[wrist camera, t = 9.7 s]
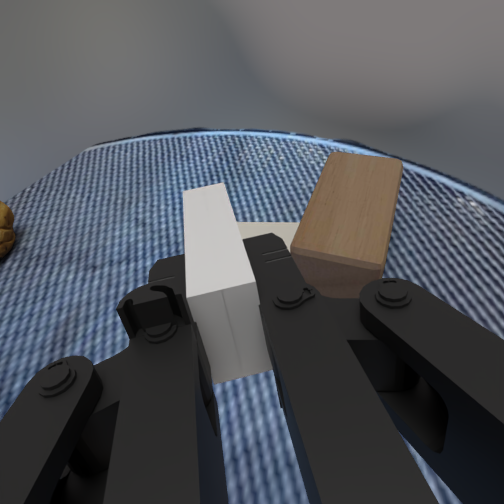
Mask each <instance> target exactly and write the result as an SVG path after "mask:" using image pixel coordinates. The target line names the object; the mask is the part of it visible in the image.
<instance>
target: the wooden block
mask: <svg viewBox="0 0 504 504" xmlns="http://www.w3.org/2000/svg"><path fill="white" fill-rule="evenodd" d="M402 172H403V164H402V161H401V160H398V159H394V158H385V157H377V156H368V155H360V154H351V153H342V152H333V153H331V154H330V155H329V157H328V159H327V161H326V163H325V166H324V168H323V170H322V173H321V175H320V177H319V180H318V182H317V184H316V187H315V189H314V191H313V194H312V196H311V198H310V201H309V203H308V205H307V208H306V210H305V212H304V214H303V217H302V219H301V221H300V224H299V226H298V228H297V231H296V233H295V235H294V238H293V240H292V242H291V245H290V254H291V256H292V257H293V259H294V261H295V263H296V265H297V267H298V269H299V270H300V272H301V274H302V276H303V278H304V280H305V282H306V283H307V284H309V285H312V286H314V287H315V288H316V289H317V290H318V291H319V292H320V294H321V295H322V296H326V297H330V298H359V293H360V291H361V290H362V288H363V286H365V285H366V284H368V283H370V282H371V281H374V280H378V279H382V275H383V271H384V267H385V263H386V257H387V252H388V247H389V241H390V236H391V231H392V225H393V220H394V214H395V209H396V204H397V198H398V193H399V188H400V182H401V177H402Z"/></svg>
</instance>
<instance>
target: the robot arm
mask: <svg viewBox="0 0 504 504" xmlns="http://www.w3.org/2000/svg"><path fill="white" fill-rule="evenodd" d="M183 205H184V238H185V254H182V255H178V256H173V257H169V258H165V259H160V260H157V262H156V263H155V264H154V266H153V267H152V268H151V269H150V271H149V279H148V284H146V285H144V286H141V287H138V288H137V289H135V290H133V291H131V292H130V293H128V294H127V295H126V296H125V297H124V298H123V299H122V300H121V301H120V302H119V304H118V306H117V308H116V310H117V312H118V314H119V316H120V319H121V321H122V323H123V325H124V327H125V330H126V332H127V334H128V336H129V339H130V341H129V346H128V347H127V348H126V349H124V350H123V351H122V352H120V353H118V354H116V355H115V356H113V357H111V358H109V359H106V360H104V361H102V362H100V363H98V364H96V365H94V366H93V364H92V362H91V361H90V360H89V359H87V358H86V357H84V356H70V357H65V358H61V359H59V360H57V361H55V362H53V363H51V364H49V365H47V366H46V367H44V368H43V369H42V370H40V371H39V372H38V373H36V374H35V376H34V377H33V378H32V379H31V380H30V381H29V382H28V383H27V385H26V386H25V387H24V389H23V390H22V392H21V393H20V395H19V396H18V397H17V399H16V400H15V402H14V403H13V405H12V406H11V407H10V409H9V410H8V412H7V413H6V414H5V416H4V417H3V419H2V420H1V422H0V504H228V495H227V486H226V477H225V468H224V459H223V450H222V441H221V432H220V423H219V414H218V405H217V401H216V398H215V395H214V392H213V388H212V379H213V382H214V385H215V384H218V383H222V382H226V381H230V380H234V379H238V378H242V377H246V376H250V375H254V374H258V373H261V372H265V371H269V370H273V371H274V376H275V381H276V386H277V391H278V396H279V401H280V407H281V408H283V411H284V415H285V418H286V422H287V425H288V429H289V432H290V436H291V440H292V443H293V447H294V450H295V454H296V457H297V461H298V464H299V468H300V471H301V475H302V478H303V482H304V485H305V489H306V492H307V496H308V500H309V503H310V504H439V503H438V501H437V499H436V497H435V496H434V494H433V492H432V490H431V489H430V487H429V485H428V483H427V481H426V480H425V478H424V476H423V474H422V473H421V471H420V469H419V467H418V466H417V464H416V462H415V460H414V458H413V457H412V455H411V453H410V451H409V450H408V448H407V446H406V444H405V443H404V441H403V439H402V437H401V435H400V434H399V432H400V433H401V434H402V435H403V437H404V438H405V439H406V440H407V441H408V442H409V443H410V444H411V446H412V447H413V448H414V449H415V450H416V451H417V452H418V453H419V455H420V456H421V457H422V458H423V459H424V460H425V461H426V463H427V464H428V465H429V466H430V467H431V468H432V469H433V470H434V472H435V473H436V474H437V475H438V476H439V477H440V478H441V479H442V481H443V482H444V483H445V484H446V485H447V486H448V487H449V488H450V490H451V491H452V492H453V493H454V494H455V495H456V496H457V497H458V499H459V500H460V501H461V502H462V503H463V504H504V340H503V339H501V338H500V337H498V336H497V335H495V334H494V333H492V332H490V331H489V330H487V329H486V328H484V327H483V326H481V325H479V324H478V323H476V322H475V321H473V320H472V319H470V318H469V317H467V316H465V315H464V314H462V313H461V312H459V311H458V310H456V309H454V308H453V307H451V306H450V305H448V304H447V303H445V302H444V301H442V300H440V299H439V298H437V297H436V296H434V295H433V294H431V293H429V292H428V291H426V290H425V289H423V288H422V287H420V286H419V285H416V284H414V283H412V282H410V281H408V280H403V279H398V278H382V279H378V280H374V281H371V282H370V283H368V284H366V285H365V286H363V288H362V290H361V291H360V293H359V298H330V297H326V296H322V295H321V294H320V292H319V291H318V290H317V289H316V288H315V287H314V286H312V285H309V284H307V283H306V282H305V280H304V278H303V276H302V274H301V272H300V270H299V269H298V267H297V265H296V263H295V261H294V259H293V257H292V256H291V254H290V252H289V250H288V249H287V246H286V244H285V242H284V241H283V239H282V238H280V237H279V236H277V235H275V234H273V233H268V234H263V235H259V236H255V237H250V238H246V239H242V238H241V235H240V232H239V228H238V225H237V222H236V219H235V216H234V213H233V210H232V207H231V204H230V201H229V198H228V195H227V192H226V189H225V186H224V183H219V184H214V185H210V186H205V187H201V188H196V189H192V190H187V191H183ZM211 376H212V378H211ZM398 431H399V432H398Z"/></svg>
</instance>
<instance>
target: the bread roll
mask: <svg viewBox="0 0 504 504" xmlns="http://www.w3.org/2000/svg"><path fill="white" fill-rule="evenodd" d="M13 222H14V215H13V213H12V211H11V209H10V208H9V207H8V206H7V205H5V204H4V203H3V202H1V201H0V259H1V258H3V257H4V256H5V255H6V254H7V253H8V252H9V251H10V250H11V248H12V246H13V244H14V242H15V233H14V231H13V227H12V226H13Z"/></svg>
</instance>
